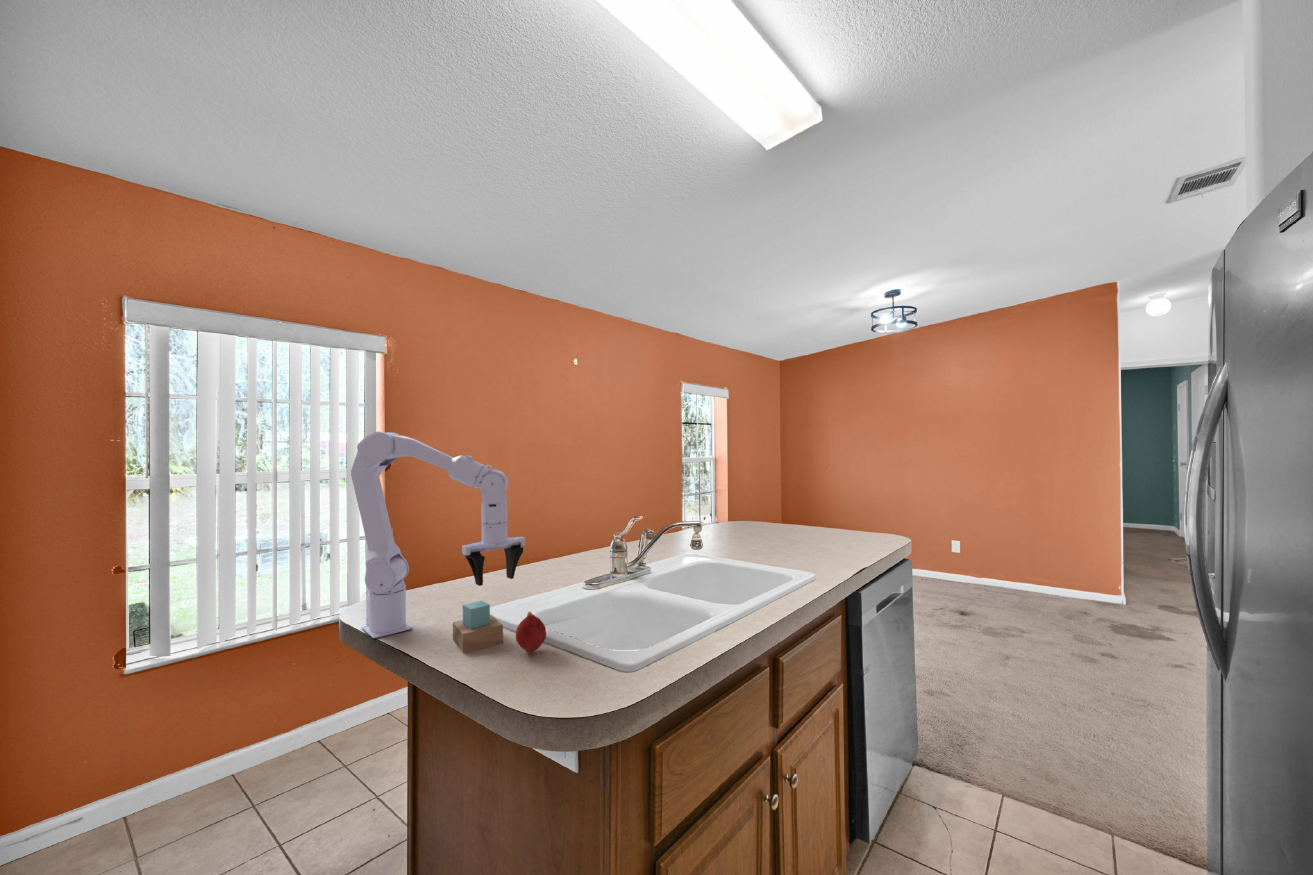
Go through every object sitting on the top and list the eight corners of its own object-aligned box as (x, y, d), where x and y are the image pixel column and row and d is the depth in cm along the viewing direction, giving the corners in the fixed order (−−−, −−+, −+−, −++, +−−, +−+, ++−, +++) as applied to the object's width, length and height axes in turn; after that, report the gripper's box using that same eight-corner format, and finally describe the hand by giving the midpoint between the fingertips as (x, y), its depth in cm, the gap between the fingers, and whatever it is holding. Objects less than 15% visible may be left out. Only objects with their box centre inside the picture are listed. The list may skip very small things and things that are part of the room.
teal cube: (462, 624, 104) (462, 604, 104) (481, 619, 107) (481, 600, 107) (471, 629, 101) (470, 609, 101) (489, 623, 104) (489, 604, 104)
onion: (550, 646, 101) (549, 607, 101) (540, 659, 95) (540, 617, 95) (522, 646, 101) (521, 606, 101) (511, 658, 96) (510, 616, 96)
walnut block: (452, 641, 105) (452, 622, 105) (491, 632, 110) (490, 614, 110) (462, 654, 99) (462, 634, 99) (503, 644, 103) (502, 625, 103)
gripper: (471, 528, 108) (472, 591, 107) (531, 520, 118) (531, 578, 118) (458, 524, 113) (458, 585, 112) (516, 517, 123) (516, 572, 123)
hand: (495, 581), depth 115 cm, fingers open, 7 cm apart
